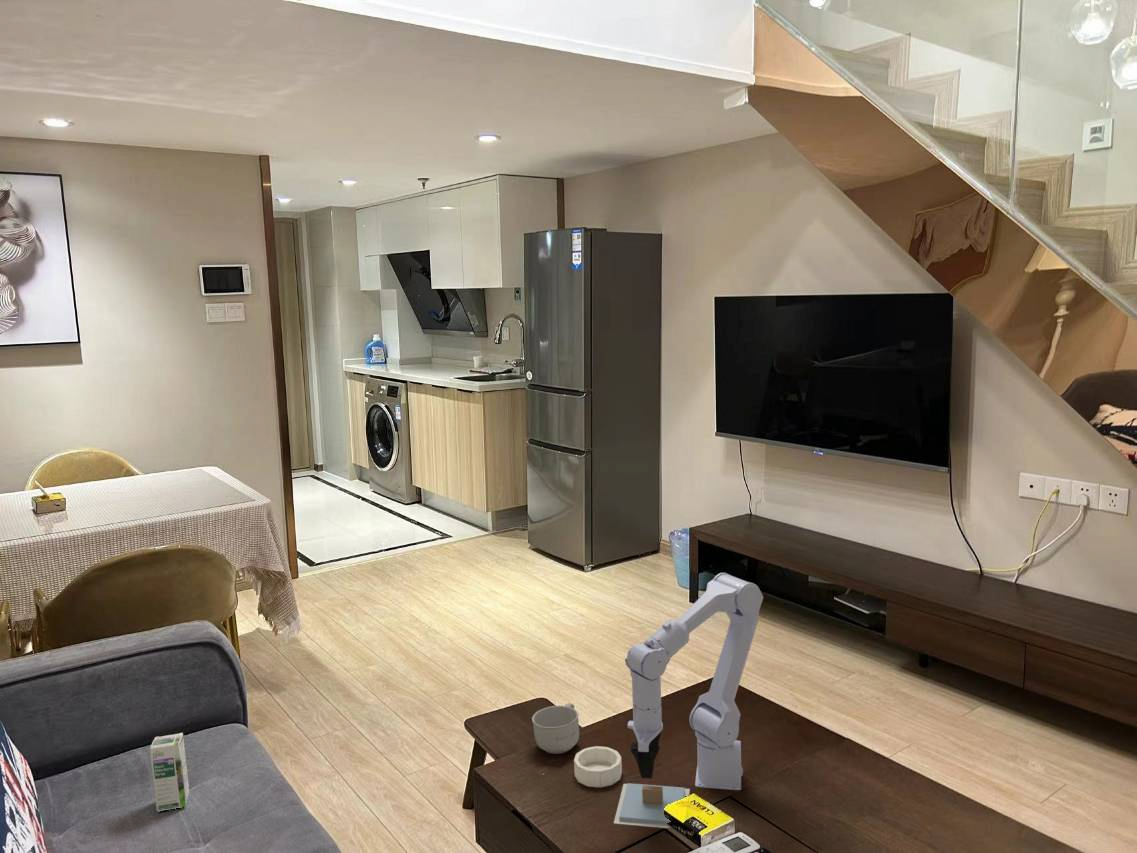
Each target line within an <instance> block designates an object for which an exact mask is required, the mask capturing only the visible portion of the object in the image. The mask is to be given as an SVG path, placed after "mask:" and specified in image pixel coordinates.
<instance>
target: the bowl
mask: <svg viewBox="0 0 1137 853" xmlns="http://www.w3.org/2000/svg"><path fill="white" fill-rule="evenodd" d="M573 766H574V768H573V770H574V777H575V779H576V781H577V782H578V783H579V784H582V785H584V786H586V787H588V788H591V787H593V788H604V787H608V786H613V785H614V784H616V783H617V782H618V781H620V780H621V777H622V774H623V765H622V755H620V753H619V752H618V751H617V750H615V749H613V748H612V747H611V748H610V747H608V746H598V745H595V746H590V747H586V748H584V749H581V750H580V751H578V752H576V753H575V756H574V759H573Z"/></svg>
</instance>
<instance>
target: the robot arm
mask: <svg viewBox="0 0 1137 853" xmlns="http://www.w3.org/2000/svg"><path fill="white" fill-rule="evenodd" d="M705 590H706V591H705V592H704V593H703V594H702V595H701V596H700V597H698V599H697V600H696V601H694V603H693V604H692V605H691V606H690V607H689V608H688V609H687V610H686V611H685V612H684V614H682V616H680V617H679V618H678V619H677V620H676V619H675V620H674V619H669V620H668V621H666V620H665V621H664V622H663V623H662V624H661V627H660V628H658V630H656V631H655V632H654V633H653V634H652V635H651V636H650V637H648V638H646V640H645V641H643V642H639V643H636V644H634V645H633V646H631V647H630V649H629V650H628V652H627V655H626V657H625V658H624V662H625V665H626V667H627V668H628V669H629V671H630V672H629V673H630V677H631V690H632V691H631V692H632V694H631V695H632V718H633V719H632V720H629V721H628V722H627V729H630V730H632V731H633V733H634V735H635V737H636V740H637V742H631V743H630V752H631V754H632V755H633V757H634V758H635V761H636V764H637V767H638V771H639V774H640V777H641V779H650V780H651V779H652V778H653V775H654V774H653V773H654V767H655V760H656V758H657V755H658V753H659V751H660V749H661V748H660V745H659V744H660V743H659V742H660V738H661V734H662V732H663V730H664V728H665V721H664V720H663V719H662V718H663V717H662V689H661V688H662V686H661V685H662V681H661V678H662V676H663V675H664V674H665V672H666V670H667V665H668V664H669V663H670V661H671V659H672V657H674V656H675V655H676V654H677V653H678V652H679V651H680V650H682V649H683V647H684V646H686V645H687V644H688V643H689V641H690V634H691V633H692V632H693V631H694V630H696V629H697V628H698V627H699V626H701V625H702V624H703V623H705V622H706V621H708V619H710V618H711V617H712V616H714V615H715V614H716V613H718V612H720V613H726V615H727V617H728V619H729V622H730V623H729V625H728V628H727V632H726V635H725V639H724V642H723V645H722V648H721V652H720V655H719V658H718V661H717V665H716V669H715V671H714V674H713V678H712V682H711V685H710V688H709V690H708V691H707V692H705V693H703V694H701V695H699V696H698V699H697V702H696V703H695V706H693V708H692V710H691V712H690V714H689V717H688V718H689V720H688V721H689V725H690V727H691V728H692V729H693V730H694V733H695V734H694V735H695V737H696V746H697V748H696V749H697V750H696V751H697V766H696V772H695V773H696V774H695V781H694V782H695V783H694V787H696V788H705V789H706V788H707V789H719V790H732V791H740V790H742V777H743V775H744V771H743V770H744V768H743V766H742V741H741V740H737V738H738V736H739V733H740V719H741V715H742V714H741V713H740V710H739V708H738V706H737V703H736V701H735V700H736V699H735V698H736V695H737V692H738V690H739V686H740V683H741V682H740V681H741V679H742V675H743V672H744V668H745V666H746V663H747V659H748V656H749V652H750V649H751V647H752V644H753V639H754V636H755V633H756V629H757V626H758V623H759V616H760V615H759V613H760V610H761V606H762V603H763V600H764V596H763V593H762V592H761V591H762V590H760V587H759V586H758V585H757V584H755V583H753V582H750V581H747V580H743V579H741V578H738V577H736V576H733V575H731V574H729V573H727V572H720V573H718V574H717V575H715V576H714V577H713V578H712V579H711V580H710V581H709V582H707V585H706V589H705Z"/></svg>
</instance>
